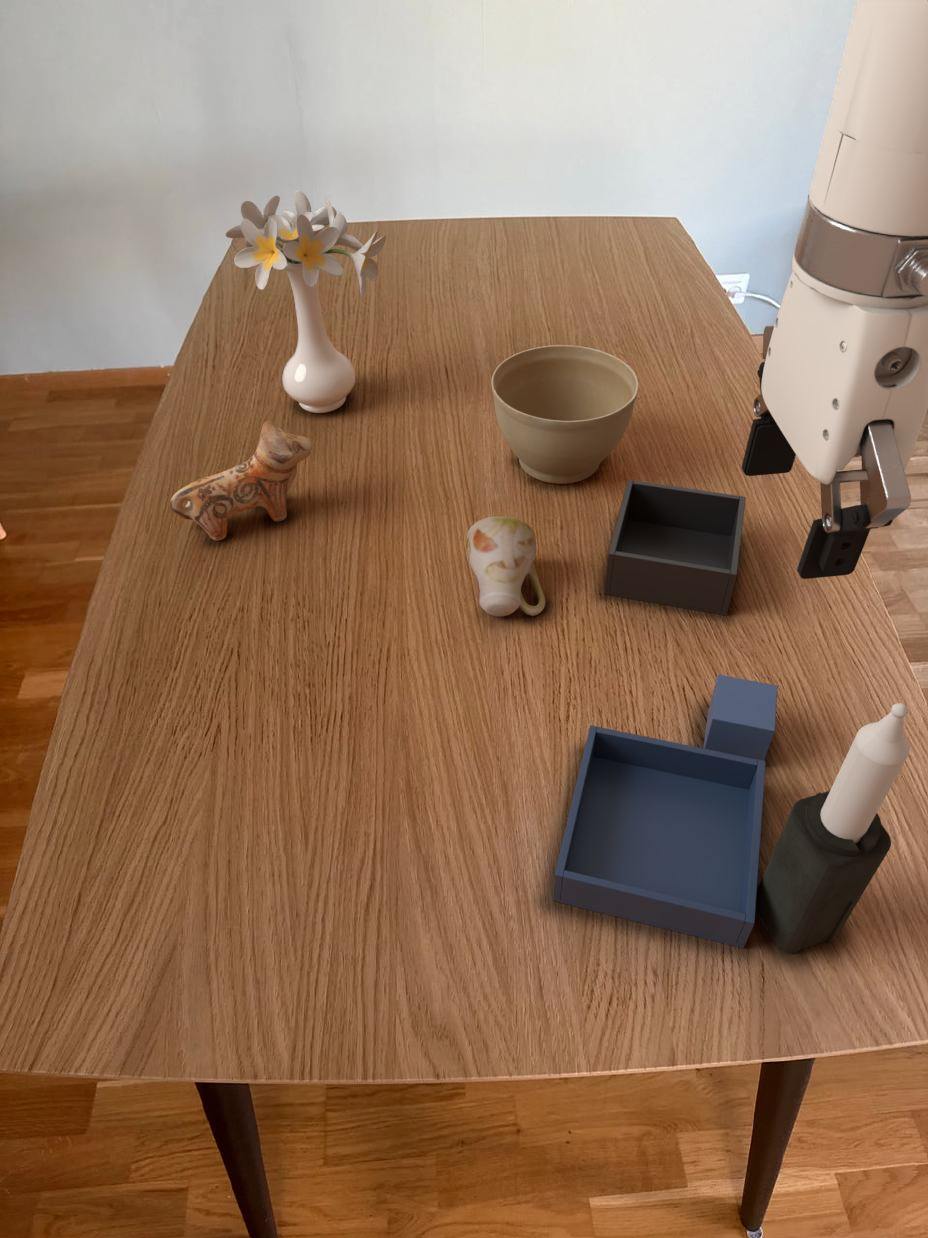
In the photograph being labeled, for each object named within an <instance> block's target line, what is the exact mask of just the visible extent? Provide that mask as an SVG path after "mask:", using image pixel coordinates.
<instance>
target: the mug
mask: <svg viewBox="0 0 928 1238" xmlns="http://www.w3.org/2000/svg"><path fill="white" fill-rule="evenodd" d="M465 540H466V541H465V551H466V556H467V559H468V562H469V564H470V567H471V570H472V572H473V574H474V576H475V579H476V580H477V583H478V588H479V606H480V607H481V609H482V610H484V612H485V613H486V614H488V615H489V616H490V615H491V616H494V617H498V618H499V617H506V616H510V615H511V614H513V613H515V611H516V610H518V609H520V610H521V611H522V612H523V613H524V614H526V615H528V616H532V617H533V616H538V615H539V614H541V613H542V612H543V610H544V609H545V607H546V596H545V592H544V590H543V588H542V585H541V583H540V579H539V576H538V573H537V570H536V563H535V558H536V553H537V538H536V534H535V531H534V529H533V528H532V526H531V525H529V524H528V523H527V522H524V521H523V520H521V519H518V518H515V517H511V516H502V515H501V516H488V517H487V516H486V517H484V518H481V519H479V520H477V521H476V522H474V523H473V524H472V526H470V527H469V530H468V531H467V533H466V539H465ZM526 577H528V578H529V581H530V583H531V584H532V587H533V589H534V591H535V594H536V597H537V602H538V603H537V604H536V605H530V604H528V603H527V601H526V600H525V598H524V596H523V593H522V585H523V583H524V581H525V579H526Z"/></svg>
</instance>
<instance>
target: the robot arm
mask: <svg viewBox="0 0 928 1238" xmlns="http://www.w3.org/2000/svg"><path fill="white" fill-rule="evenodd" d="M844 45H845V46H844V50H843V55H842V57H841V62H840V66H839V69H838V75H837V78H836V83H835V86H834V91H833V94H832V98H831V103H830V107H829V111H828V115H827V119H826V123H825V127H824V131H823V134H822V139H821V143H820V147H819V151H818V154H817V158H816V163H815V166H814V171H813V175H812V179H811V183H810V186H809V191H808V192H809V193H808V195H807V198H806V202H805V207H804V211H803V214H802V218H801V223H800V227H799V231H798V235H797V238H796V243H795V248H794V252H793V256H792V259H791V270H792V272H791V274H790V277H789V279H788V282H787V285H786V288H785V290H784V294H783V297H782V300H781V303H780V306H779V310H778V312H777V316H776V319H775V323H774V324H773V325H766V326H765V327H764V329H763V334H762V360H764V361H761V363H760V364H759V367H758V369H757V377H758V379H759V381H758V382H759V390H760V391H759V392H760V393H759V395H757V396H756V397H755V398H754V400H753V405H752V409H753V414H754V416H755V417H756V418H754V419H752V423H751V427H750V431H749V435H748V440H747V444H746V447H745V451H744V456H743V459H742V464H741V470H742V472H743V474H744V475H745V476H746V477H747V476H748V477H756V476H767V475H779V474H788V473H789V472H791V471H792V468H793V466H794V463H795V459H796V457H797V458H798V460H799V461H800V463H801V464H802V466H803V467H804V469H805V470H806V471H807V473H809V475H810V476H811V477H812V478H814V479H815V480H816V481H817V482H819V485H820V504H821V505H820V506H821V518H817V519H813V520H812V523H811V526H810V528H809V532H808V536H807V538H806V541H805V545H804V547H803V551H802V553H801V556H800V559H799V562H798V566H797V569H796V571H797V573H798V576H799V578H801V579H803V580H809V579H819V578H820V579H821V578H830V577H840V576H849V575H851V574H852V573H853V572H854V571H855V570H856V567H857V565H858V563H859V560H860V557H861V554H862V552H863V549H864V547H865V546H866V545H865V544H866V542H867V539H868V537H869V534H870V532H871V530H875V529H879V528H885V527H889V526H891V525H892V524H893V521H894V520H895V519H896V518H897V517H899V516H900V515H901V514H902V513H904V511H906V510H907V509H908V508H909V507H910V506H911V502H912V495H911V490H910V487H909V484H908V480H907V476H906V473H905V471H906V469H907V467H908V465H909V463H910V460H911V457H912V455H913V452H914V450H915V447H916V445H917V441H918V439H919V437H920V433H921V430H922V428H923V424H924V421H925V418H926V416H927V412H928V0H856V1H855V5H854V9H853V12H852V17H851V22H850V25H849V29H848V33H847V37H846V42H845V44H844ZM859 457H861V469H849V470H844V469H845V468H846V467H847V465H848V464H850V462H851V461H852V459H853V458H859ZM854 482H855V483H856V482H859V494H860V495H859V496H860V498H859V499H860V504H856V505H852V506H847V507H842V493H841V491H842V490H841V484H845V483H854Z"/></svg>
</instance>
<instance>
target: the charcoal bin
mask: <svg viewBox="0 0 928 1238" xmlns="http://www.w3.org/2000/svg"><path fill="white" fill-rule="evenodd" d="M746 499H747V497H746V496H743V495H736V494H728V493H721V492H714V491H708V490H703V489H695V488H688V487H682V486H674V485H670V484H669V485H668V484H663V483H662V484H661V483H654V482H649V481H640V480H633V479H627V481H626V484H625V489H624V492H623V496H622V499H621V500H622V501H621V503H620V507H619V512H618V516H617V519H616V523H615V527H614V530H613V535H612V538H611V542H610V546H609V550H608V554H607V561H606V562H607V563H606V570H605V579H604V588H603V595H607V596H613V597H618V598H624V599H629V600H636V601H641V602H647V603H653V604H659V605H664V606H670V607H675V608H681V609H685V610H686V609H687V610H693V611H699V612H705V613H710V614H715V615H722V616H727V615H728V611H729V607H730V603H731V600H732V596H733V592H734V587H735V585H736V580H737V576H738V569H739V560H740V551H741V545H742V544H741V543H742V535H743V534H742V532H743V526H744V517H745V508H746V501H747V500H746Z"/></svg>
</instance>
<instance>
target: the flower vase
mask: <svg viewBox="0 0 928 1238" xmlns="http://www.w3.org/2000/svg"><path fill="white" fill-rule="evenodd" d="M293 196H294V197H293V200H294V201H293V202H294V206H295V212H296V213H295V212H293V211H291V210H283V211H281V212H280V215H278V214H276V213H277V210H278V208H279V204H280V200H281V197H280V196H279V195H278V194H277V195H274V196H272V197H271V198H270V199H269V200H268V201H267V202H266V204H265V205H264V207H263V210H262V212H261V210H260V208H259V207H258V206H257V205H256V204H255V203H254V202H253V201H251V200H245V201H243V202H242V203H241V204H240V214H241V217H242V220H240V224H238V225H234V226H232V227H230V228H229V229H228V230H227V231H226V232H225V237H226V238H228V239H245V241H244V246H245V248H243V249H241V250H239V251H238V252H237V253H236V254H235V256H234V259H233V262H234V265H235V266H236V267H237V268H240V269H249V268H252V267H253V268H254V267H256V266H257V267H256V269H255V274H254V276H255V277H254V279H255V284H256V286H257V288H258V289H259V290H261V291H262V290H264V289H265V288H267V285H268V282H269V279H270V274H271V272H272V269H275V270H278V271H281V270H285V272H286V274H287V277H288V280H289V283H290V286H291V287H290V288H291V291H292V294H293V300H294V307H295V315H296V323H297V344H296V348H295V350H294V353H293V355H292V356H291V357H290V358H289V359H288V361H287V362H286V364H285V366H284V368H283V372H282V377H281V378H282V379H281V382H282V386H283V389H284V391H285V392H286V394H288V396H289V397H290V398H291V399H292V400H294V401H296V402H298V405H299V406H300V407H301V409H303V410H304V411H307V412H309V413H314V414H324V413H330V412H333V411H336V410H337V409H339V408H341V407H342V406H343V405H344V404H345V402H346V400H347V396H348V395H349V394H350V393H351V391H352V390H353V388H354V386H355V385H356V378H357V375H356V370H355V368H354V366H353V364H352V362H351V361H350V359H349V358H348V357H346V355H345V354H344V353H343V352H341V351H340V350H338V349H336V348H335V346H334V344H332V342H331V340H330V338H329V336H328V334H327V330H326V327H325V323H324V318H323V317H324V316H323V312H322V307H321V301H320V295H319V283H318V282H319V278H320V270H322V271H323V272H325V273H327V274H330V275H332V276H342V275H343V274H344V271H345V270H344V266H343V264H342V263H341V262H340V261H339V259H337V258H336V256H334V255H331V254H339V255H344V256H346V257H348V258H351V259H352V261H353V264H354V267H355V271H356V275H357V279H358V285H359V291H360V297H361V299H364V297H365V293H366V290H367V278H368V279H369V280H370V281H371V282H372V281H373V282H375V281H376V280H377V279H378V276H379V265H378V263H377V262H376V261H375V260H374V259H373V258H374V257H376V256H377V255H378V254H379V253H380V252H381V251H382V249H383V247H384V246H385V243H386V242H387V241H386V240H387V236H386V235H383V236H381V237H379V238H378V235H379V234H378V233H379V231H378V230H376V231H375V232H374V233H373V234H372V236H371V237H370V238H369V240H368V241H366V243H364V244H362V243H361V241H359V240H358V239H357V238H356V237H355V236H353V235H351V234H347V232H348V228H349V225H348V222H347V219H346V217H345V216H344V214H343V213H342V211H341V210H336V208H335V207H333V206H332V204H331V203H330V200H329V199H328V197H327V196H325V197H324V198H325V203H326V206H322V207H319V208H318V209H316V210H315V211H313V212H312V206H311V202H310V200H309V198H308V197H307V195H306V194H305V192H303V191H302V190H300V189H299V190H296V191H295V192H294V195H293ZM328 225H329V227H327V226H328ZM377 238H378V239H377ZM278 241H279V242H278ZM280 242H281V243H283V244H284V245H282V244H281V243H280ZM339 245H340V246H344V247H346V248H349V249H351V250H354V251H355V252H354V253H353V252H350V251H348V250H344V249H338V248H333V247H336V246H339ZM278 247H279V248H280V249H282V250H280V249H279V248H278Z"/></svg>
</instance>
